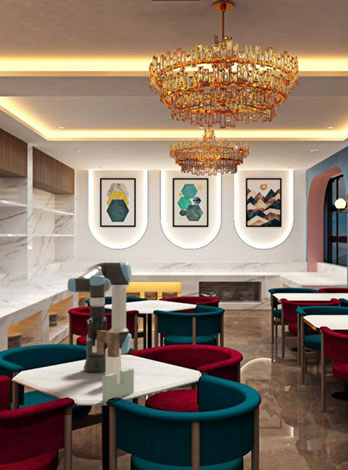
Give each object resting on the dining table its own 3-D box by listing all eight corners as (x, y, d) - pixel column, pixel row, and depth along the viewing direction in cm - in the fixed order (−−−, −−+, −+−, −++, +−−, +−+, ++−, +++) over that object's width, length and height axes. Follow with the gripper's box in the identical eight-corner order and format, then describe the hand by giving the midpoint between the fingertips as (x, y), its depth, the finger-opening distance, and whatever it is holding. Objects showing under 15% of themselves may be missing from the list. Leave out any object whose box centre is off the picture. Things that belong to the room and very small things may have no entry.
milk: (113, 382, 298) (113, 342, 299) (121, 384, 295) (121, 343, 295) (105, 384, 293) (105, 343, 294) (113, 386, 290) (113, 344, 290)
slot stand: (106, 401, 262) (106, 376, 262) (102, 400, 263) (102, 375, 264) (133, 392, 278) (133, 368, 278) (129, 391, 280) (129, 368, 280)
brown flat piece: (92, 353, 277) (92, 330, 278) (96, 352, 280) (96, 329, 280) (115, 357, 268) (115, 333, 268) (119, 356, 270) (119, 332, 270)
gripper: (91, 307, 269) (90, 355, 269) (113, 304, 282) (113, 350, 282) (80, 306, 274) (80, 353, 273) (103, 303, 287) (103, 348, 286)
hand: (97, 351), depth 277 cm, fingers closed on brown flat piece, 3 cm apart
